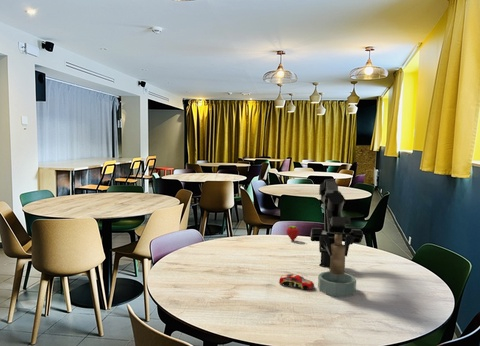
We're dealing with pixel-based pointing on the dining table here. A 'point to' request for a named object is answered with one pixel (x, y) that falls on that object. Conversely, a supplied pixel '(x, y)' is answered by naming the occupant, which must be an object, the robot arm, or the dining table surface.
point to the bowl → (336, 284)
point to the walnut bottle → (337, 256)
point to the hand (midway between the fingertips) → (338, 255)
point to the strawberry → (292, 232)
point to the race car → (296, 282)
